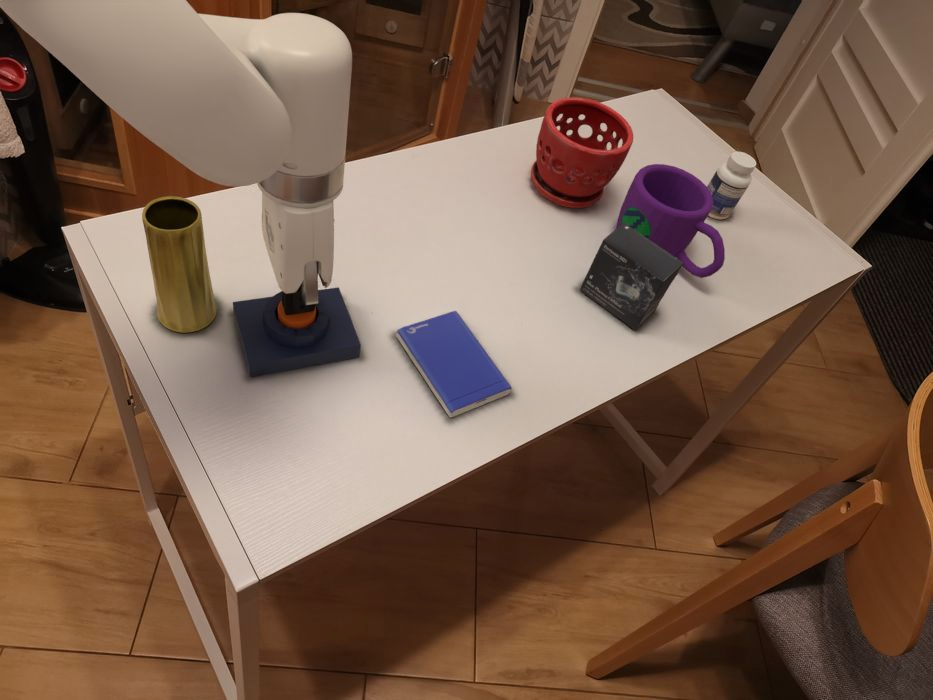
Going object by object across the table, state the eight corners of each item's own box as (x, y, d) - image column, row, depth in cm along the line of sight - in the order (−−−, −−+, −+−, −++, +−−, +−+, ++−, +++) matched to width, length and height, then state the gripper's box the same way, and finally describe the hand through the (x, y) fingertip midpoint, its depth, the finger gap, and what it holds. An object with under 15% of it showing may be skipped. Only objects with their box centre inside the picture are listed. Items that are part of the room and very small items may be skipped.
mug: (594, 227, 101) (619, 172, 93) (645, 209, 106) (673, 155, 99) (676, 307, 93) (711, 253, 86) (727, 283, 99) (763, 230, 91)
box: (577, 291, 91) (601, 237, 84) (599, 272, 95) (624, 220, 87) (633, 332, 89) (664, 280, 81) (654, 312, 92) (685, 261, 85)
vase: (225, 323, 76) (215, 225, 65) (169, 340, 73) (149, 241, 62) (204, 286, 79) (191, 187, 68) (149, 302, 76) (127, 200, 65)
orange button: (282, 336, 73) (282, 325, 72) (274, 308, 75) (274, 297, 74) (319, 330, 74) (320, 319, 73) (310, 303, 77) (310, 292, 75)
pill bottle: (699, 194, 112) (728, 143, 105) (730, 206, 112) (762, 157, 105) (695, 212, 109) (725, 161, 101) (727, 225, 108) (759, 174, 101)
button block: (249, 377, 72) (248, 353, 69) (233, 314, 77) (231, 290, 74) (359, 357, 77) (362, 334, 74) (337, 299, 82) (339, 276, 79)
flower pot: (507, 172, 105) (528, 102, 96) (571, 157, 111) (596, 90, 102) (557, 226, 99) (584, 157, 90) (621, 207, 106) (653, 141, 96)
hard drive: (397, 328, 79) (451, 410, 73) (456, 309, 82) (513, 386, 77) (395, 337, 80) (448, 419, 74) (454, 317, 84) (509, 394, 78)
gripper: (239, 119, 62) (248, 264, 76) (276, 229, 54) (278, 368, 68) (321, 115, 65) (315, 256, 79) (367, 219, 57) (351, 355, 71)
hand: (298, 307), depth 74 cm, fingers closed
